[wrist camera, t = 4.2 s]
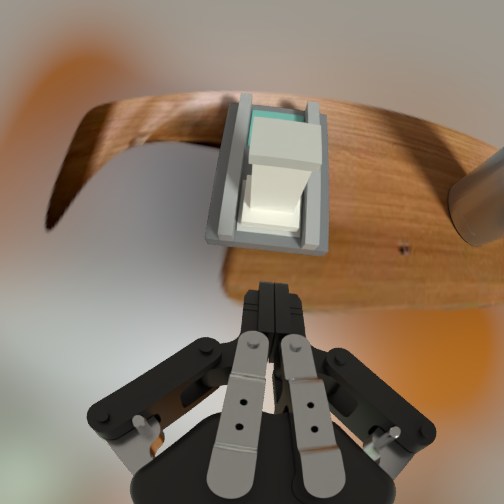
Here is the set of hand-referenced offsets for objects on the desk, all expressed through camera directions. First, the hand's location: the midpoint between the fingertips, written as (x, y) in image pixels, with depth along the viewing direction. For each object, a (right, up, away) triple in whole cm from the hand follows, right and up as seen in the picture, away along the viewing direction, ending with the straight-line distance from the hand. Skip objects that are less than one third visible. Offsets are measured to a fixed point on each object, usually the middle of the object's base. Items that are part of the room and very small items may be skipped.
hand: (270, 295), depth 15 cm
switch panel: (+1, +10, +13) cm, 17 cm away
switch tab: (+1, +6, +10) cm, 12 cm away
